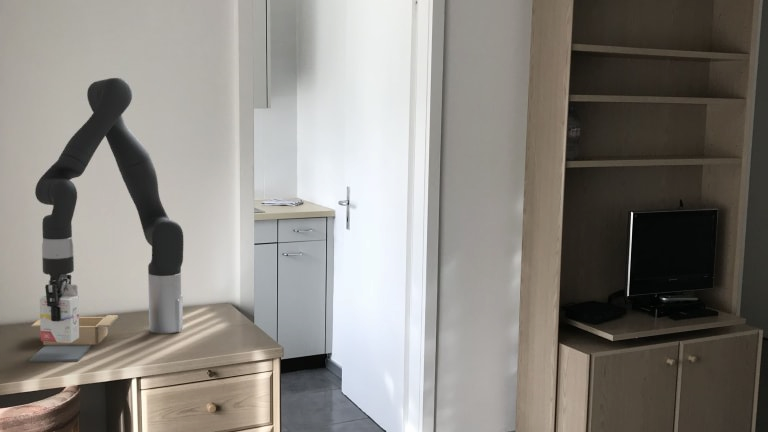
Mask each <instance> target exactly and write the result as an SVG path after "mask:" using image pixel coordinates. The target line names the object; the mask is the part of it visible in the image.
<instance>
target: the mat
mask: <svg viewBox="0 0 768 432" xmlns="http://www.w3.org/2000/svg"><path fill="white" fill-rule="evenodd" d="M91 348H92V346H91V345H44V346H43V347H42V348H41V349H40V350H38V351H37V352H36V353H35V354H34V355H33V356H32V357H31V358H30V359H29V363H31V362H38V363H40V362H41V363H42V362H43V363H44V362H47V363H48V362H79V361H80V360H81V359H82V358H83V356H85V355H86V353H87V352H89V350H90V349H91Z"/></svg>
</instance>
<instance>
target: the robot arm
mask: <svg viewBox="0 0 768 432" xmlns="http://www.w3.org/2000/svg"><path fill="white" fill-rule="evenodd" d="M86 95H87V96H86V97H87V101H88V104H89V106H90V108H91V111H92V114H91V115H90V116H89V117H88V120H87V121H86V122H84V123H83V125H82V126H81V127H80V128H79V129H78V130H77V131H76V132H75V133H74V134H73V135H72V137H71V138H70V139H69V140H68V142H67V144H65V146H64V149H63V151H62V152H61V154H60V155H59V157H58V159H57V161H55V162H54V163H53V164H52V165H51V166H50V167H49V168H48V169H47V171H45V172H44V173H43V174H42V176H41V177H40V178H39V179H38V181H37V183H36V186H35V189H34V191H35V198H36V199H37V201H38V202H39V203H41V204H43V205H49V206H52V211H51V214H48V215H45V216H44V217H43V218H42V225H41V226H42V245H41V255H42V256H41V257H42V258H41V259H42V273H43V274H45V275H48V276H50V277H49V280H48V284H45V287H44V289H45V296H46V299H47V306H50V307H51V320H52V321H60V320H61V308H60V306H61V299H62V298H63V296H64V292H65V290H66V291H68V287H67V285H68V284H72V275H71V273H73V272H74V270H75V262H74V261H75V259H74V244H73V227H72V226H73V225H72V221H73V217H74V215H75V214H74V213H75V211H76V210H75V209H76V205H77V201H78V191H77V187H76V186H75V183H74V182H73V181H72V179H76V178H79V177H80V176H82V175H83V174H84V172H85V171H86V168H87V167H88V165H89V163H90V162H91V160H92V158H93V156H94V155H95V153H96V151H97V149H98V148H99V146H100V144H101V143H102V141H103V140H104V138H106V140H107V143H108V145H109V147H110V150H111V152H112V155H113V156H114V157H113V158H114V160H115V163H116V165H117V168H118V171H119V173H120V175H121V178H122V180H123V182H124V184H125V187H126V189H127V191H128V194H129V195H130V196H129V197H130V198H131V200H132V201H133V204H134V207H135V208H136V211H137V214H138V218H139V221H140V224H141V229H142V231H143V235H144V238H145V240H146V242H147V243H148V244H149V246H151V260H150V262H149V263H148V266H147V271H148V272H147V273H148V280H147V281H148V327H149V328H148V331H149V332H150V333H153V334H158V335H159V334H161V335H162V334H174V333H181V331H182V329H183V327H184V322H183V321H184V318H183V316H184V313H183V309H184V308H183V295H182V273H181V272H182V271H181V270H182V266H183V262H184V231H183V229H182V226H181V225H180V224H179V223H178V222H176V221H174V220H172V219H170V218H169V216H168V214H167V212H166V210H165V208H164V205H163V203H162V201H161V197H160V193H159V192H160V191H159V183H158V182H159V181H158V177H157V176H158V175H157V172H156V168H155V165H154V163H153V160H152V158H151V156H150V153H149V152H148V151H149V150H147V148H146V147H145V146H144V144H143V143H142V142H141V141H140V139H138V138H137V136H135V134H134V133H133V132H132V131H131V130H130V128H129V127H128V125H127V123H126V122H125V119H124V117H123V114H124V112H126V110H127V108H128V107H129V106H130V105H131V103H132V100H133V91H132V88H131V85H130V84H129V82H127V81H126V80H124V79H122V78H120V77H110V78H107V79H105V78H104V79H102V80H97V81H94V82H92V83H91V84H90V85H89V86H88V88H87V93H86ZM53 299H55V302H53Z"/></svg>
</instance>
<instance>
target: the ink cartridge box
mask: <svg viewBox="0 0 768 432" xmlns="http://www.w3.org/2000/svg"><path fill="white" fill-rule="evenodd" d="M67 287H68V291H66V290H65V292H64V296H63V298H62V299H61V306H60V308H61V320H60V321H52V320H51V307H50V306H47V299H46V295H43V296H41V297H40V298H39V316H40V317H39V319H40V327H39V328H40V330H39V331H40V341H41V342H43V341H49V342H62V343H71V342H73V341H75V340H76V339H78V338H79V317H80V315H79V313H80V312H79V311H80V310H79V309H80V307H79V305H80V304H79V296H78V286H77V284H72V283H71V284H68V285H67ZM53 302H55V299H53Z"/></svg>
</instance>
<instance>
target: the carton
mask: <svg viewBox="0 0 768 432" xmlns="http://www.w3.org/2000/svg"><path fill="white" fill-rule="evenodd" d="M118 318H119V315H118V314H117V315H116V314H109V315H108V314H107V315H106V316H79V338H78V339H76V340H75V341H73V342H71V343H62V342H49V341H42V343H43V344H42V345H44V346H59V345H95V346H96V345H100V343H101V342H102V341H103V340H105V338H106V336H107V335H108V334H109V328H110V327H111V326H112V325H113V323H114V322H115V321H116V320H117V319H118ZM31 328H40V318H39V319H38V320H36V321H35V322H33V324H31Z"/></svg>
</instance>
